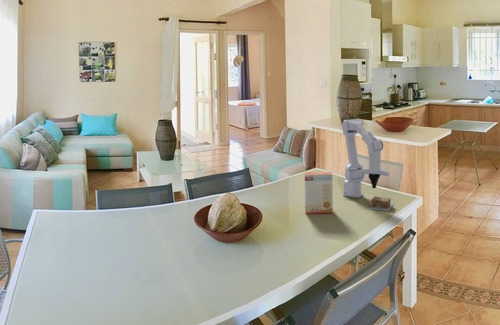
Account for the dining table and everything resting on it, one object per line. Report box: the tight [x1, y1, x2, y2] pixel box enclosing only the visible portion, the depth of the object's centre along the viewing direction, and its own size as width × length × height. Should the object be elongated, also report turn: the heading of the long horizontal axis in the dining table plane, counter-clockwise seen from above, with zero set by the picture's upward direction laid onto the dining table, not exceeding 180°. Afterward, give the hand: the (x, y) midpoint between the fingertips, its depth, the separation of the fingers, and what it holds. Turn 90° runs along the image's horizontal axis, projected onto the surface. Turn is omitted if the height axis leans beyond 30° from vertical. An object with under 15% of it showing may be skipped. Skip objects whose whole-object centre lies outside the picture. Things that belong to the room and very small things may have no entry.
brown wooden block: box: [370, 196, 391, 209], centre depth 230 cm, size 4×6×8 cm
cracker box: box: [304, 171, 334, 214], centre depth 224 cm, size 14×6×21 cm, turn 84°
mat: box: [370, 203, 395, 212], centre depth 230 cm, size 9×12×1 cm
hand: (374, 187), depth 230 cm, fingers closed
